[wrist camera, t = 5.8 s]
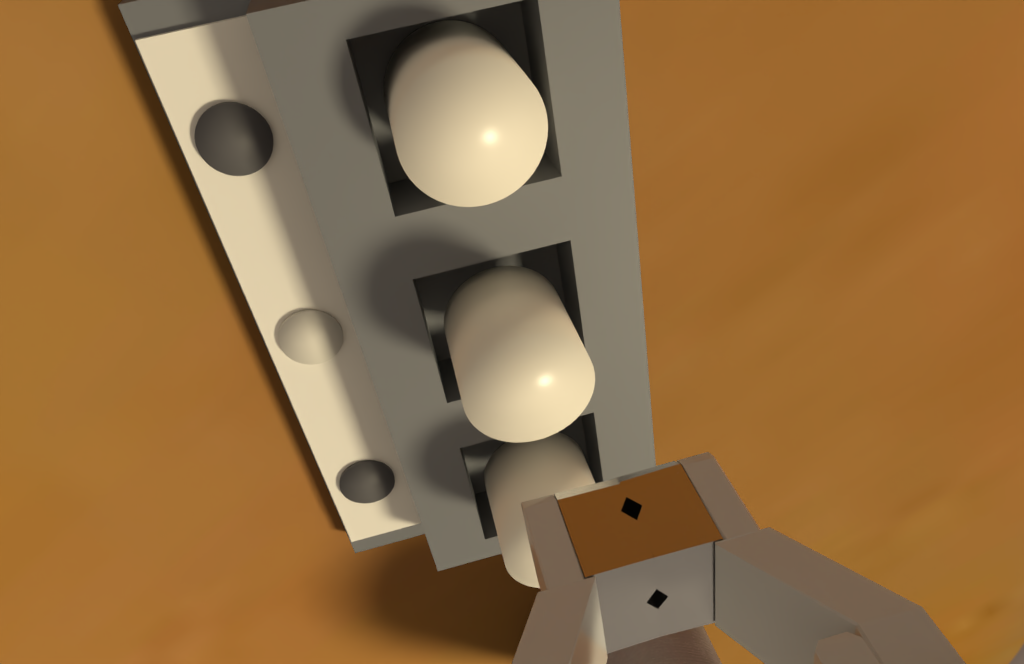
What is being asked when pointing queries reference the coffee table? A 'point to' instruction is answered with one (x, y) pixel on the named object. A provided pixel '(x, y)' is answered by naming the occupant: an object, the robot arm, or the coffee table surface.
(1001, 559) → the coffee table surface
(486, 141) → the button
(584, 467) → the button
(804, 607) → the robot arm
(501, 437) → the button
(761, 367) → the coffee table surface
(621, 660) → the pillar candle
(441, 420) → the board
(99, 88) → the coffee table surface
